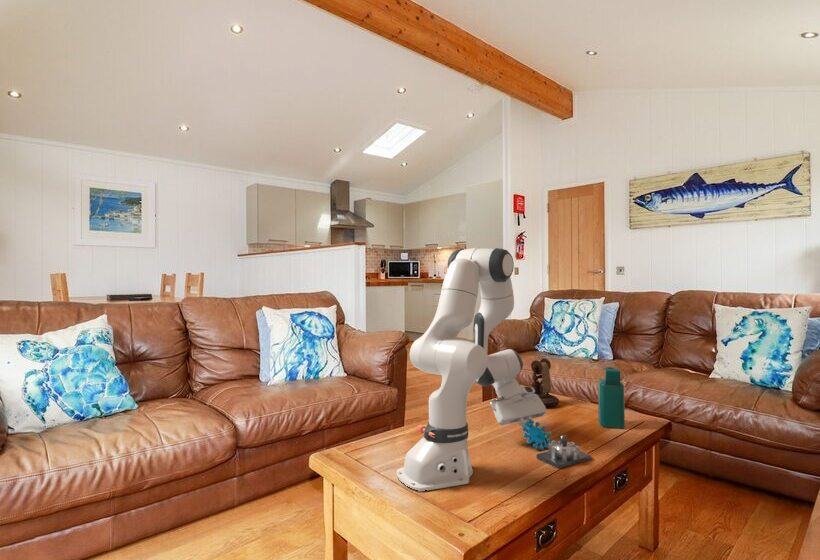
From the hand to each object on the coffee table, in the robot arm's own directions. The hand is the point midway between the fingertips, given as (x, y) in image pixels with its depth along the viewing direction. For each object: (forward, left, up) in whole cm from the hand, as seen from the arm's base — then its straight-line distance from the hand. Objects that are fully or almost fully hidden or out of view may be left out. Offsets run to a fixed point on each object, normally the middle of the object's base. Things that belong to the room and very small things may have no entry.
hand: (531, 431), depth 150 cm
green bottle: (+39, -2, -5) cm, 39 cm away
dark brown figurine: (+37, +32, -5) cm, 49 cm away
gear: (0, -2, -4) cm, 5 cm away
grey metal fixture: (0, -14, -4) cm, 15 cm away
